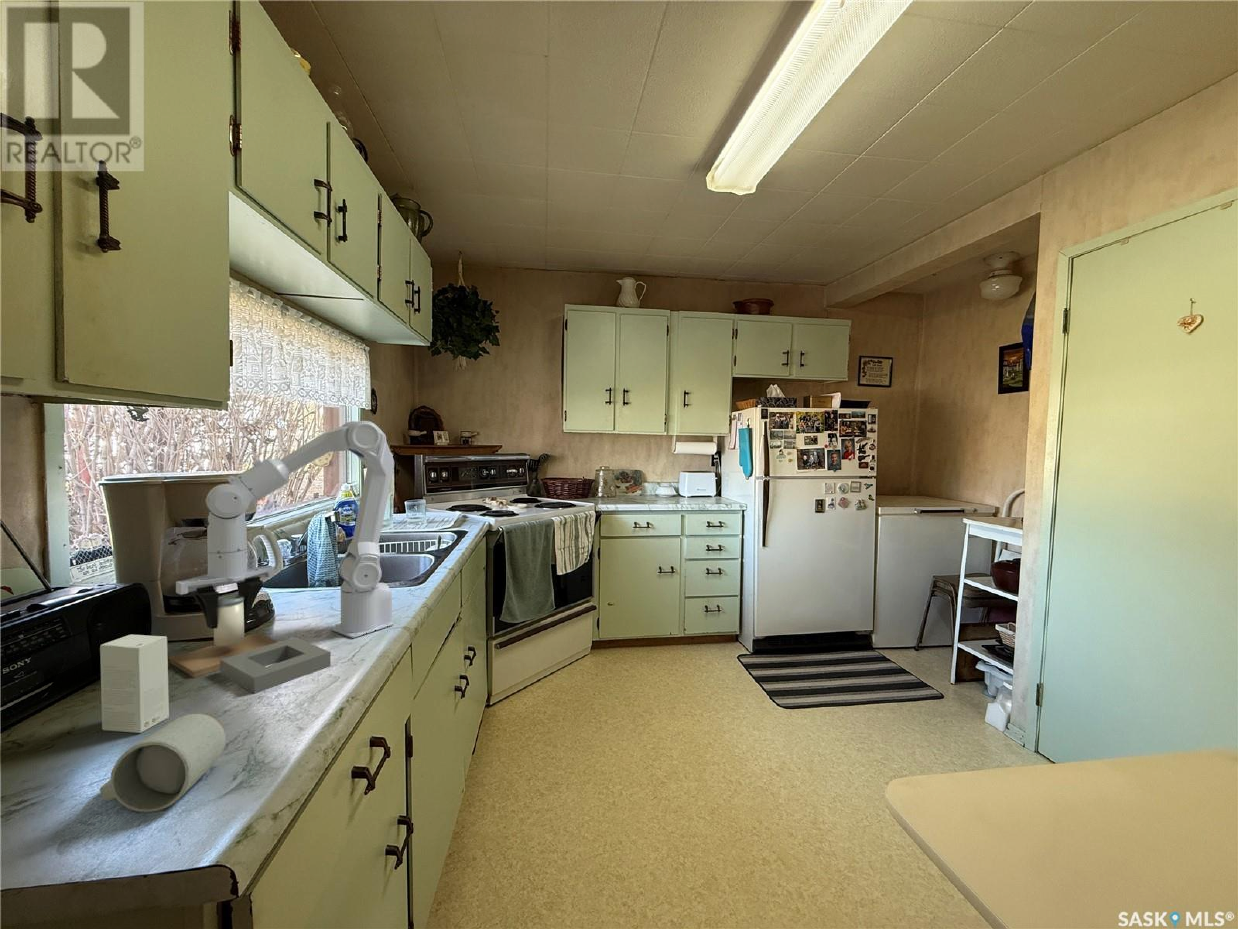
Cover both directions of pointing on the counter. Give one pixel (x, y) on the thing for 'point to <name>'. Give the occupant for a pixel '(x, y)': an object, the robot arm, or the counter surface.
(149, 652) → the skincare box
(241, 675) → the housing
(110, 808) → the counter surface
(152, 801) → the ceramic mug
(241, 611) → the cartridge
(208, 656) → the board
